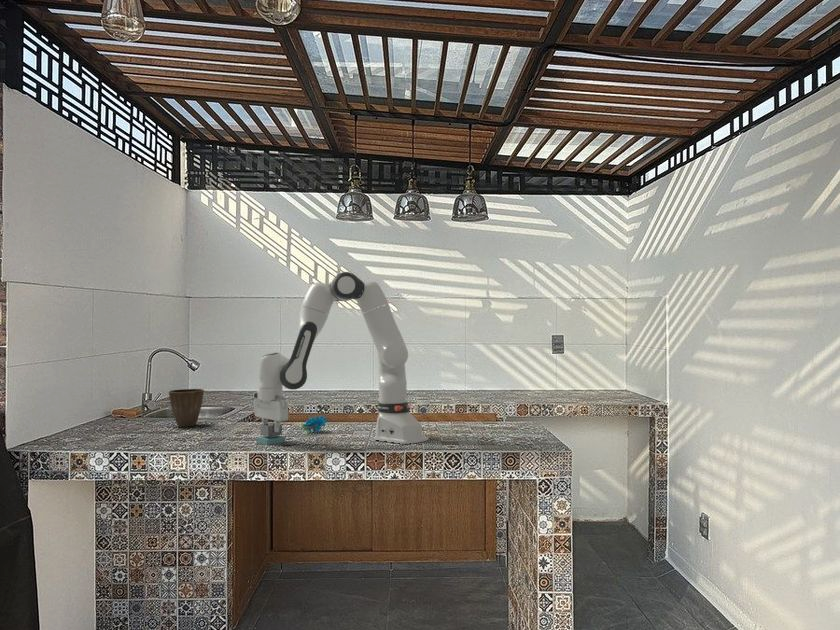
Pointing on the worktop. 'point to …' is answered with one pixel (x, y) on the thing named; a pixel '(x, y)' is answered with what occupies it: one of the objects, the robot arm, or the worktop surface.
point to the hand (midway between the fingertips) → (271, 430)
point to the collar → (269, 430)
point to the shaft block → (270, 439)
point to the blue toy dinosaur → (314, 424)
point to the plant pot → (186, 405)
